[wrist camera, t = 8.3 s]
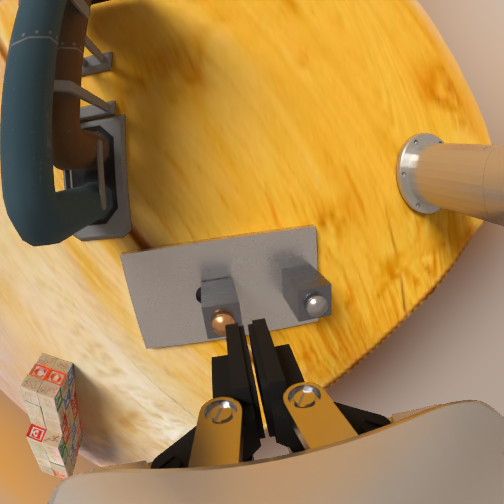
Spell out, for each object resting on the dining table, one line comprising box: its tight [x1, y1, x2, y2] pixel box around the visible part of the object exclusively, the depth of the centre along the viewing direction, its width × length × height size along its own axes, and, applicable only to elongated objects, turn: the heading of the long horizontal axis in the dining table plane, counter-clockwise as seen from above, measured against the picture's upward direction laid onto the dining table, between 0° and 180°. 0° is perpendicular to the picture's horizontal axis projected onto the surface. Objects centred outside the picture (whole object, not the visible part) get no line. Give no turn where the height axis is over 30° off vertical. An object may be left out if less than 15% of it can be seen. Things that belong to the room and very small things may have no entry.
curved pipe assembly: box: [0, 0, 132, 246], centre depth 20 cm, size 35×9×21 cm, turn 2°
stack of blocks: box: [20, 354, 82, 479], centre depth 35 cm, size 21×6×12 cm, turn 164°
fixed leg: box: [281, 264, 331, 322], centre depth 36 cm, size 4×4×8 cm
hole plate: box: [120, 224, 318, 349], centre depth 39 cm, size 25×14×1 cm, turn 96°
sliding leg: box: [201, 278, 242, 339], centre depth 34 cm, size 4×4×8 cm
